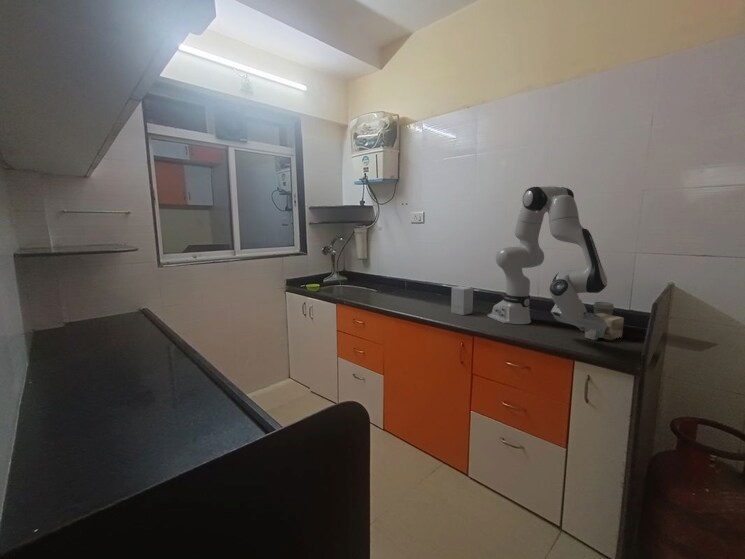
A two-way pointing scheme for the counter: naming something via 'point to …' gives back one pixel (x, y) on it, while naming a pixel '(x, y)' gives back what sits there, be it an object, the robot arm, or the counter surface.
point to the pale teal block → (601, 334)
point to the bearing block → (612, 326)
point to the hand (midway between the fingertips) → (585, 329)
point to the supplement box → (462, 300)
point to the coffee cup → (603, 308)
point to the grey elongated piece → (591, 334)
